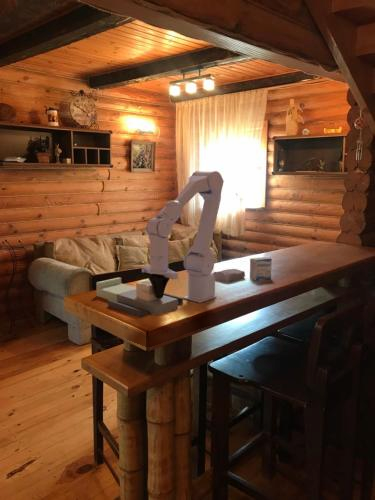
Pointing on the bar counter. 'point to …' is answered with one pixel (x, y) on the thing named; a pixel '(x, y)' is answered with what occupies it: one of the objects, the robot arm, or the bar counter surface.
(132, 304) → the trap causeway
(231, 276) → the stone block
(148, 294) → the ash block
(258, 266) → the medicine box
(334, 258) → the bar counter surface
